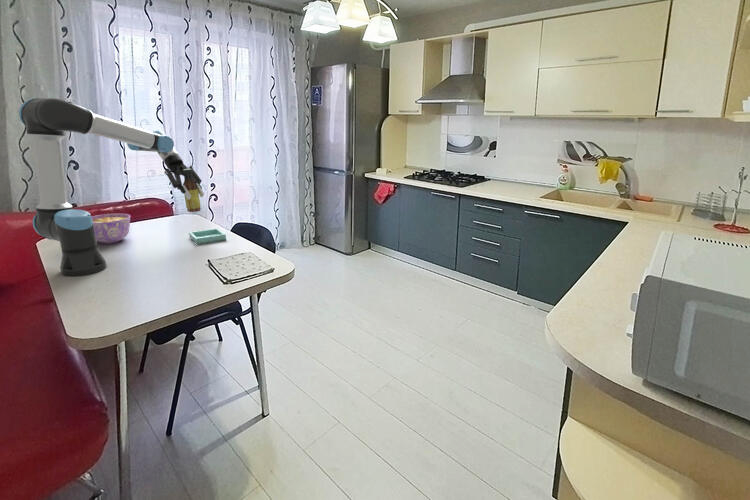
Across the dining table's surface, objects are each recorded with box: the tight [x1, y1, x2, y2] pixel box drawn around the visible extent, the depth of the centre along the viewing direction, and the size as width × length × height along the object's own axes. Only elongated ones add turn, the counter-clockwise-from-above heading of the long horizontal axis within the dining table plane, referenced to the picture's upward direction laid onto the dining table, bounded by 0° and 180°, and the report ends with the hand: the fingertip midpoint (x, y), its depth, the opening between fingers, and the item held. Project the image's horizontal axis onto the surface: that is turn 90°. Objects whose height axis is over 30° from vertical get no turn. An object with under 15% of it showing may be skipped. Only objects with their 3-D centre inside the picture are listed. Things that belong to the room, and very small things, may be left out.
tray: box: [188, 228, 227, 245], centre depth 211 cm, size 14×14×3 cm
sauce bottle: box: [182, 169, 201, 213], centre depth 200 cm, size 6×6×20 cm
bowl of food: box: [91, 213, 131, 245], centre depth 205 cm, size 20×20×12 cm
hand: (196, 196), depth 199 cm, fingers closed on sauce bottle, 6 cm apart
